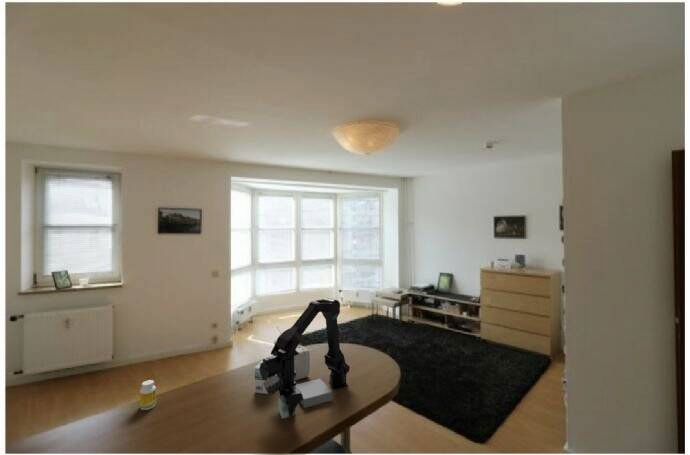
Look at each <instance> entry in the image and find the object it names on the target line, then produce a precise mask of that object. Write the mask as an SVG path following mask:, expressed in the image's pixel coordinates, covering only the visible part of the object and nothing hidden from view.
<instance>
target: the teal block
mask: <svg viewBox="0 0 690 455" xmlns="http://www.w3.org/2000/svg"><path fill="white" fill-rule="evenodd" d="M277 398H278V413H279V415H280V417H281V419H282V418H283V419H285V418H286V419H287V418H290V417H289V413H288V406H287V405H286V404H285V403H284V401H283V400H284V399H283V395H281V396H280V395H279V396H278V397H277ZM293 416H296V410H295V411H294V413H293Z"/></svg>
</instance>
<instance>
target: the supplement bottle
mask: <svg viewBox="0 0 690 455" xmlns="http://www.w3.org/2000/svg"><path fill="white" fill-rule="evenodd" d="M139 400H140V401H139V403H140V404H139V406H140V407H139V408H140V409H141V410H142V411H147V410H148V411H149V410H150V409H153V408H154V407H155V406H156V405H157V387H156V385H155V381H154V380H153V379H149V380H144V381H143V382H142V383H141V388H140V390H139Z"/></svg>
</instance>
